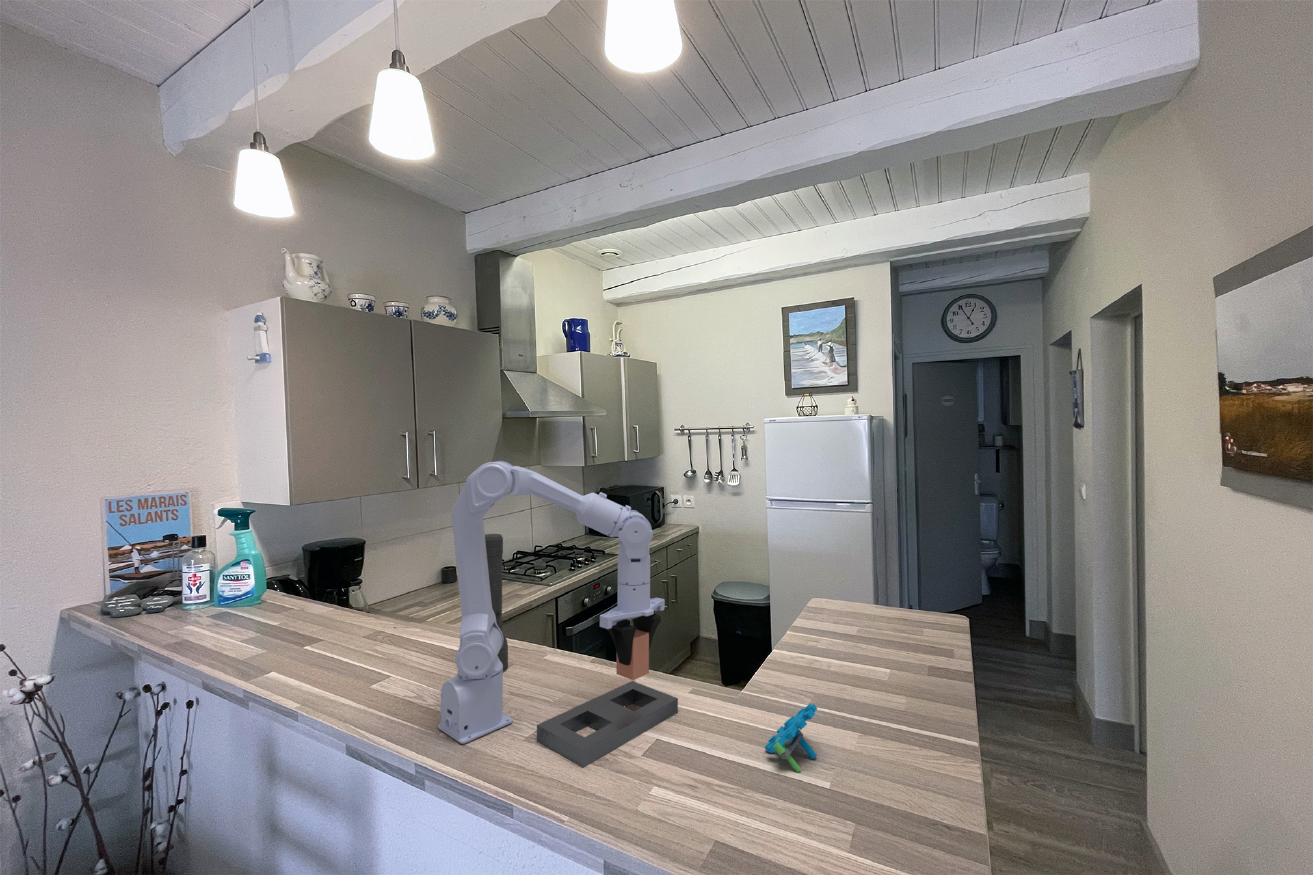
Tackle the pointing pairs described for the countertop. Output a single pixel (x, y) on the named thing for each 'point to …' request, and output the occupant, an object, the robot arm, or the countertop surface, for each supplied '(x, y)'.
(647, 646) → the square block
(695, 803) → the countertop surface
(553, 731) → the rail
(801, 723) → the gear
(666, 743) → the countertop surface
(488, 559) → the flashlight
